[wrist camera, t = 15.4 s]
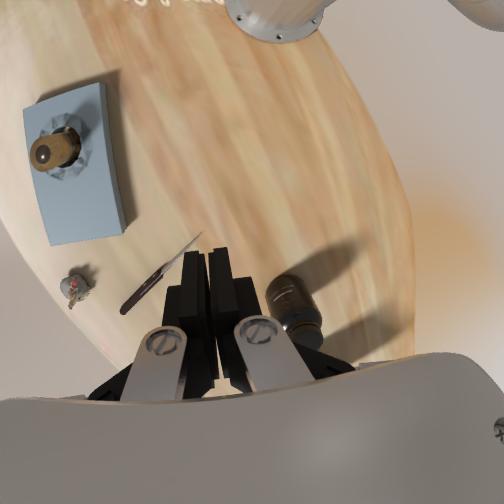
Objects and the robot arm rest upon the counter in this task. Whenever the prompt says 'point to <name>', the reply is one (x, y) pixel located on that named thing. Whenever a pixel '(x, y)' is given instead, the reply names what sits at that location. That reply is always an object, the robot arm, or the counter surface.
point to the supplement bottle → (295, 311)
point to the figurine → (74, 289)
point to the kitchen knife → (150, 283)
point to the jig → (77, 168)
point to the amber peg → (55, 150)
